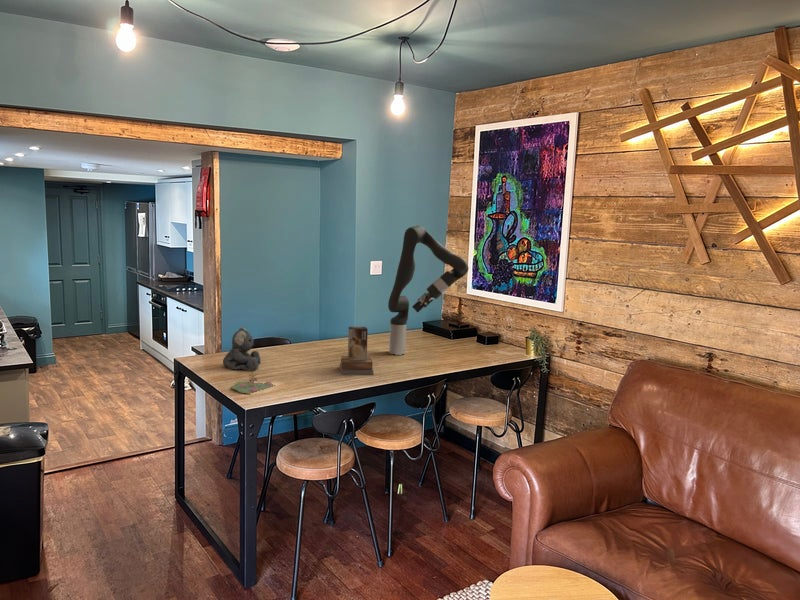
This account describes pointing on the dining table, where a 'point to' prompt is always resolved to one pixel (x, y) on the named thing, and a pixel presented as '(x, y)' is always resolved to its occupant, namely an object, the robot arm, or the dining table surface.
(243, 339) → the koala plush
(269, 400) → the dining table surface
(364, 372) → the baseplate
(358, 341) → the coffee box
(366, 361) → the walnut brick
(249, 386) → the plant
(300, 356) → the dining table surface
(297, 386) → the dining table surface
